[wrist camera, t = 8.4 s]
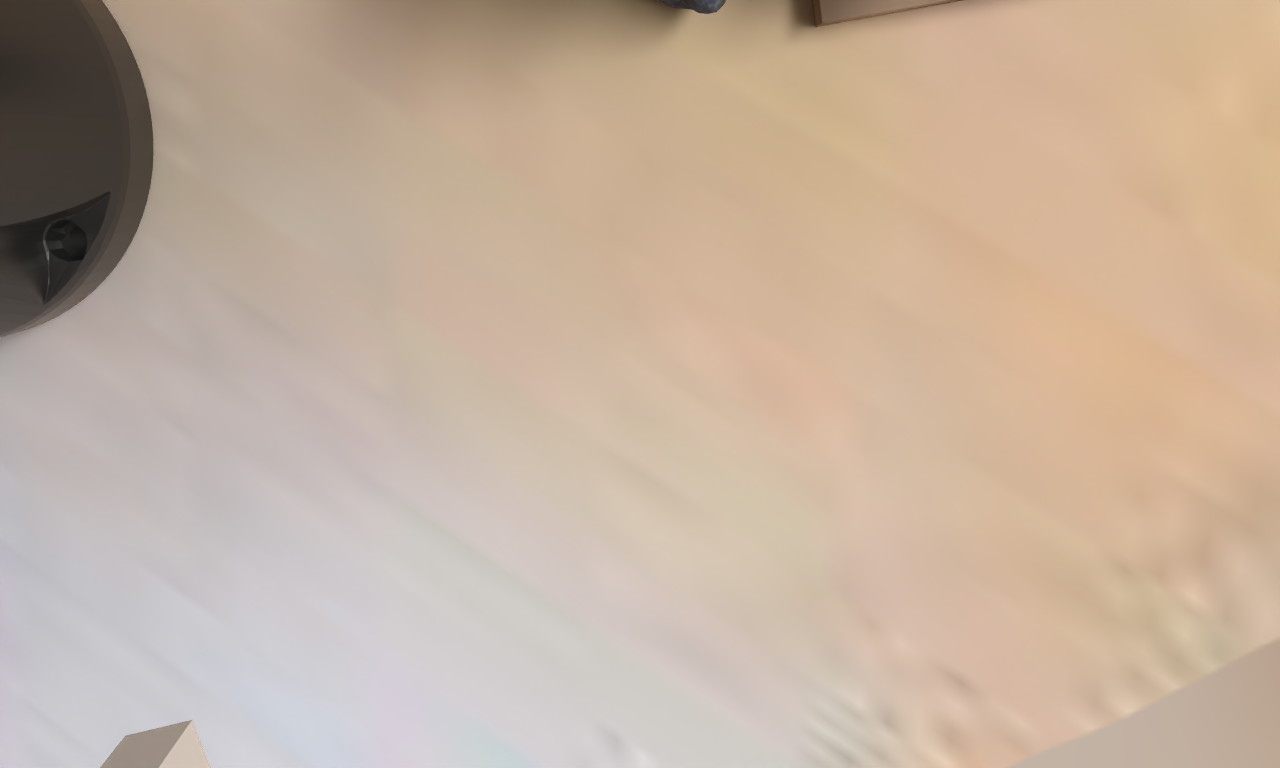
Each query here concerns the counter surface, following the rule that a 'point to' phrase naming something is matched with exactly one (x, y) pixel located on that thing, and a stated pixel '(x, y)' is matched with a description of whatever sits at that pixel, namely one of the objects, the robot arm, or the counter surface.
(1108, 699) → the counter surface
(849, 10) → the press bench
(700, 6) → the rock
